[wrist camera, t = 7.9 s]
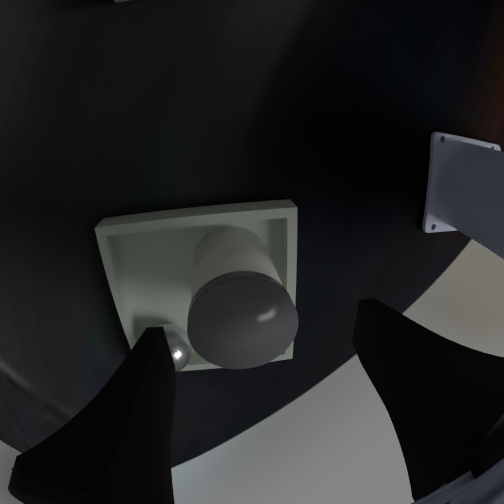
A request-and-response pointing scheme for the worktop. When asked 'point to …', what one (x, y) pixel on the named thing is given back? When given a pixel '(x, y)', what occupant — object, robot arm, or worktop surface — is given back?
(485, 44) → the worktop surface
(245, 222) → the tray
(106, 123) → the worktop surface
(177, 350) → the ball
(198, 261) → the cylinder
